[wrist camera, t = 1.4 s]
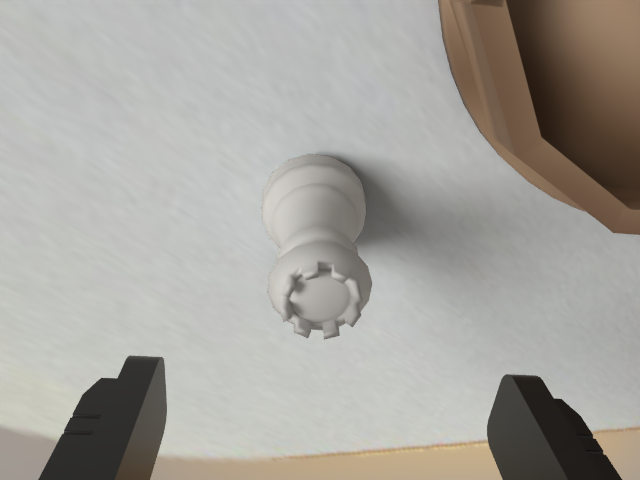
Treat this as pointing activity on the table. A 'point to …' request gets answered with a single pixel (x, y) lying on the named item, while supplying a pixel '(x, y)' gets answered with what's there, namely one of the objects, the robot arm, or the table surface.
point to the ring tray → (556, 95)
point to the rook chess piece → (316, 244)
